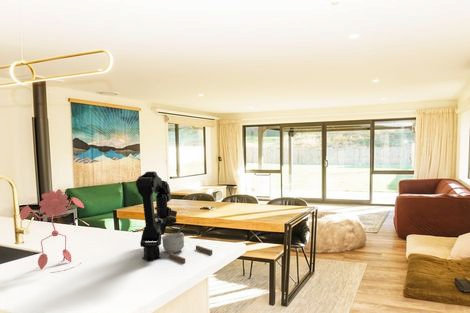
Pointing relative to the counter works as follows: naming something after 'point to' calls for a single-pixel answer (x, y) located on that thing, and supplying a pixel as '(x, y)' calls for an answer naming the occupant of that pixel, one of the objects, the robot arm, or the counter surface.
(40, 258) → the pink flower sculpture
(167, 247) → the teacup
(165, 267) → the counter surface
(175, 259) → the guide rails
